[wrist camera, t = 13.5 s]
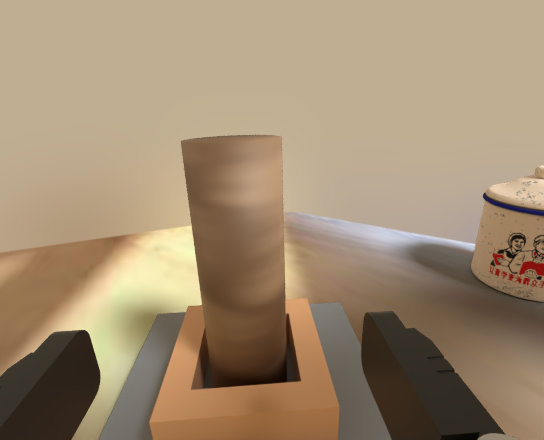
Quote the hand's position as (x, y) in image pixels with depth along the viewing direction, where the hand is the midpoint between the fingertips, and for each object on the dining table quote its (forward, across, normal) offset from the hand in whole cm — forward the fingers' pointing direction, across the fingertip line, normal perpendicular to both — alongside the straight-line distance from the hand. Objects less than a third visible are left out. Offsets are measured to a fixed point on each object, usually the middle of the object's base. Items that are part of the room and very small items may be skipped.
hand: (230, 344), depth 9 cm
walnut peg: (+7, 0, +9) cm, 11 cm away
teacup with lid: (+18, -29, +11) cm, 36 cm away
